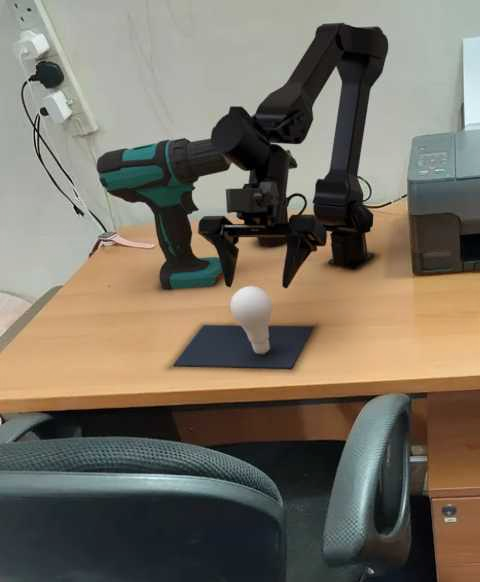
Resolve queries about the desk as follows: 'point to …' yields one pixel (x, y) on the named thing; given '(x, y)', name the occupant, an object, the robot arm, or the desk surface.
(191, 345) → the felt mat
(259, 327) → the white rounded smooth part
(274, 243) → the coffee mug
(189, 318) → the desk surface
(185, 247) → the power drill
